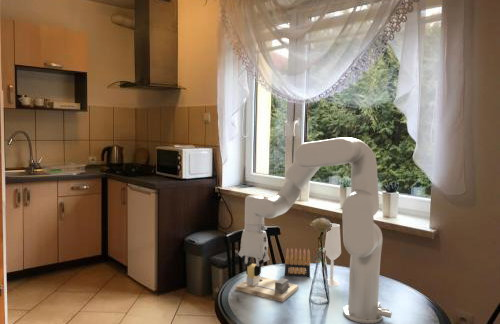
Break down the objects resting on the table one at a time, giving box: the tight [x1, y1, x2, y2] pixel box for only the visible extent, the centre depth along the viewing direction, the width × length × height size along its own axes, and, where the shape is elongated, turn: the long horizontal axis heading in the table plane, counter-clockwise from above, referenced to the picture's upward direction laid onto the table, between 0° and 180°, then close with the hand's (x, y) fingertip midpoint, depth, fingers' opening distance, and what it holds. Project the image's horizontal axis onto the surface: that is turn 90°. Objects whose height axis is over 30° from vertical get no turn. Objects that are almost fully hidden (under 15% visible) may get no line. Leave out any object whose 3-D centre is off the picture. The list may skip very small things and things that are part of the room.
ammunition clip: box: [284, 247, 311, 278], centre depth 167 cm, size 11×2×12 cm, turn 84°
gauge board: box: [235, 276, 299, 303], centre depth 152 cm, size 20×14×6 cm
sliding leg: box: [245, 262, 262, 286], centre depth 154 cm, size 3×8×7 cm, turn 150°
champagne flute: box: [324, 223, 342, 287], centre depth 159 cm, size 7×7×24 cm
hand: (253, 273), depth 152 cm, fingers closed on sliding leg, 3 cm apart
